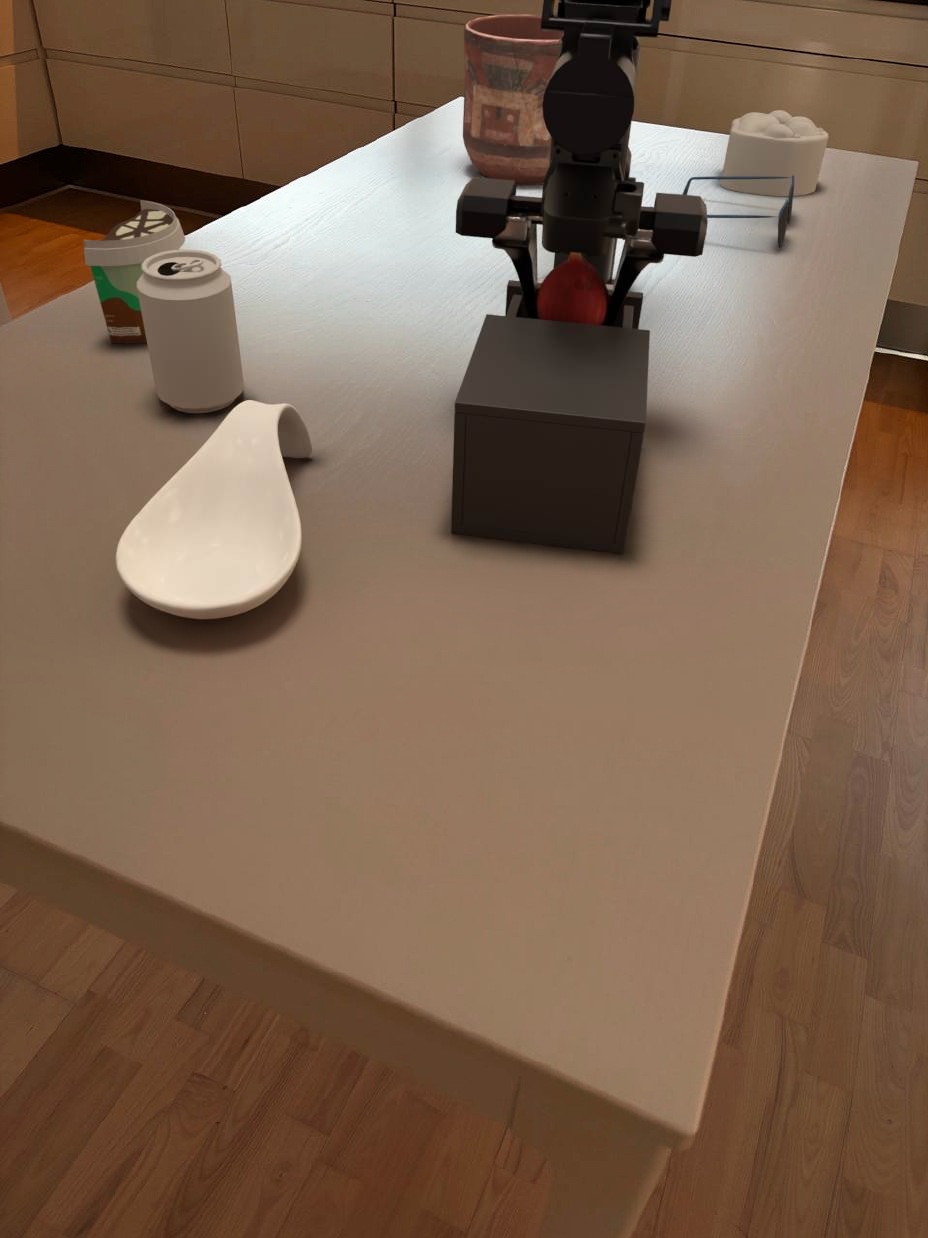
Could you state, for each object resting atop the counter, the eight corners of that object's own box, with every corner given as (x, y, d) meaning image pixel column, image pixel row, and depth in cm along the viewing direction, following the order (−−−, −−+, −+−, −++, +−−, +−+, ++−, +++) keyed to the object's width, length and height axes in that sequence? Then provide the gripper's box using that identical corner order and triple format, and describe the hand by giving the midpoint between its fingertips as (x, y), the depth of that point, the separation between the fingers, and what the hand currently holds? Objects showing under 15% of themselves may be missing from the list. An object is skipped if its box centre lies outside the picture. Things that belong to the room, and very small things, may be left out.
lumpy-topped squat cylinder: (723, 168, 144) (735, 103, 139) (814, 178, 142) (831, 112, 137) (718, 189, 137) (731, 121, 131) (815, 200, 134) (833, 131, 129)
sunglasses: (779, 255, 118) (784, 212, 115) (656, 253, 123) (657, 211, 119) (793, 211, 130) (797, 171, 127) (681, 211, 135) (682, 172, 132)
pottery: (589, 194, 133) (606, 42, 121) (458, 189, 133) (463, 36, 121) (579, 156, 147) (593, 16, 135) (460, 152, 146) (465, 11, 135)
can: (164, 377, 89) (140, 243, 82) (248, 376, 90) (233, 243, 82) (151, 418, 84) (124, 278, 76) (241, 417, 84) (224, 278, 76)
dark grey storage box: (480, 434, 83) (486, 313, 76) (630, 451, 82) (650, 329, 75) (450, 533, 72) (454, 401, 65) (623, 554, 71) (646, 422, 64)
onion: (609, 337, 84) (622, 242, 79) (593, 366, 80) (606, 268, 75) (543, 325, 85) (551, 232, 80) (524, 353, 81) (532, 256, 76)
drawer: (508, 354, 93) (515, 261, 87) (630, 366, 92) (644, 273, 86) (480, 449, 80) (486, 347, 74) (622, 465, 79) (639, 362, 73)
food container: (165, 356, 92) (146, 249, 86) (103, 348, 93) (80, 241, 87) (216, 305, 102) (202, 204, 95) (160, 298, 103) (142, 198, 96)
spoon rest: (282, 655, 62) (271, 563, 57) (98, 638, 62) (73, 546, 58) (353, 459, 80) (349, 377, 75) (210, 447, 80) (197, 365, 76)
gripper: (444, 135, 66) (440, 353, 76) (728, 158, 64) (685, 379, 74) (470, 95, 74) (464, 296, 85) (721, 114, 73) (684, 318, 83)
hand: (570, 322), depth 81 cm, fingers closed on onion, 6 cm apart
